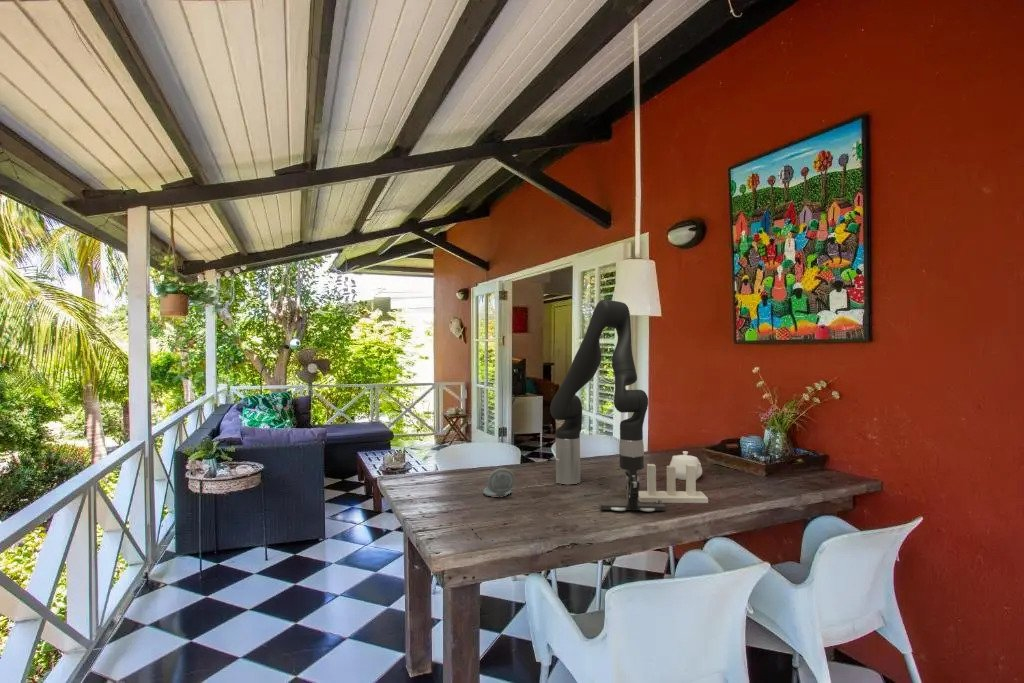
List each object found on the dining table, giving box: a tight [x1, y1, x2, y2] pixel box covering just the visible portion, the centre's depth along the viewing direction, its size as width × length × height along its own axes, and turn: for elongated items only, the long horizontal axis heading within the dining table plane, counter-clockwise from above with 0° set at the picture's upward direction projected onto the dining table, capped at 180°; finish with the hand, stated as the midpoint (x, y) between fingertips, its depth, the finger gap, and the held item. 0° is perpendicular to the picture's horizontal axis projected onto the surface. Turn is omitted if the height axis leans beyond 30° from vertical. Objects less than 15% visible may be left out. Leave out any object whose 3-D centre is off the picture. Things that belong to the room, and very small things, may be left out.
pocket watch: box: [482, 467, 516, 496], centre depth 187 cm, size 10×11×15 cm
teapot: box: [669, 450, 703, 481], centre depth 205 cm, size 20×12×10 cm, turn 12°
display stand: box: [638, 463, 709, 504], centre depth 178 cm, size 22×8×12 cm, turn 86°
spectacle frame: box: [598, 490, 666, 513], centre depth 168 cm, size 20×9×5 cm, turn 86°
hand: (632, 507), depth 167 cm, fingers closed on spectacle frame, 3 cm apart
